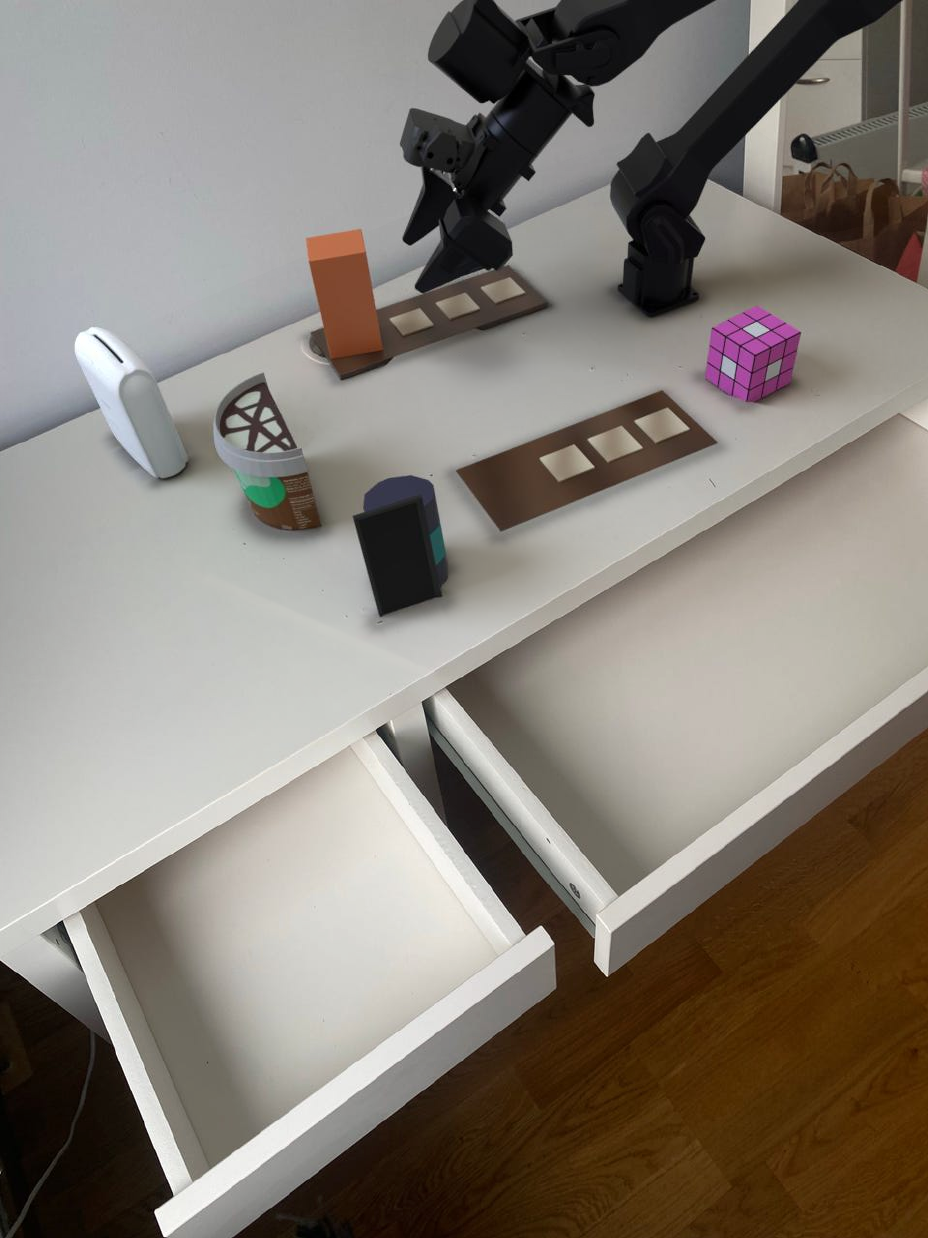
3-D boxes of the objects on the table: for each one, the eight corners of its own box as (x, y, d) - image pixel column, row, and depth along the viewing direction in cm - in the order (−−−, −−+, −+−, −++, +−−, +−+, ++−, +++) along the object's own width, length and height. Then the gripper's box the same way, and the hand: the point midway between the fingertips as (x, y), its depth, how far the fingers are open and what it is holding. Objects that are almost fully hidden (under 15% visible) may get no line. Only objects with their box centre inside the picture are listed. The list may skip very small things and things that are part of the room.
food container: (225, 478, 88) (192, 390, 80) (287, 457, 89) (261, 368, 81) (259, 564, 80) (227, 476, 73) (327, 540, 82) (303, 451, 74)
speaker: (450, 616, 75) (429, 514, 67) (379, 623, 75) (351, 522, 68) (453, 553, 80) (434, 453, 73) (386, 560, 81) (360, 460, 73)
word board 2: (661, 394, 90) (662, 387, 90) (717, 447, 85) (718, 440, 84) (455, 474, 86) (455, 468, 85) (500, 536, 80) (500, 529, 80)
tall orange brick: (378, 326, 101) (361, 228, 92) (383, 350, 98) (365, 251, 89) (327, 334, 100) (305, 237, 92) (330, 359, 97) (308, 261, 89)
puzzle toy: (745, 407, 88) (755, 355, 84) (704, 378, 91) (711, 326, 87) (790, 383, 90) (802, 331, 85) (748, 355, 93) (757, 304, 89)
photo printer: (109, 436, 93) (57, 328, 84) (147, 416, 95) (100, 308, 85) (156, 487, 88) (106, 377, 78) (196, 465, 89) (152, 355, 80)
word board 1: (508, 269, 107) (508, 262, 106) (547, 307, 101) (547, 300, 101) (311, 336, 101) (309, 330, 101) (340, 380, 96) (339, 373, 95)
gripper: (431, 36, 87) (336, 176, 95) (465, 121, 75) (353, 271, 83) (518, 111, 93) (422, 236, 101) (563, 200, 81) (450, 333, 89)
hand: (411, 265), depth 94 cm, fingers open, 9 cm apart
